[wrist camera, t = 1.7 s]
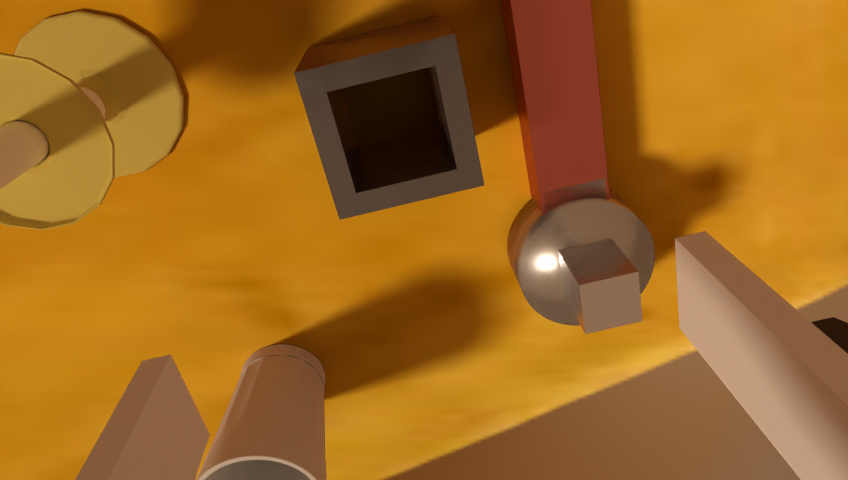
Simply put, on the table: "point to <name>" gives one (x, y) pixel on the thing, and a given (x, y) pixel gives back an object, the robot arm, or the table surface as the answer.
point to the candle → (80, 116)
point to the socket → (399, 158)
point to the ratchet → (569, 177)
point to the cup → (272, 420)
